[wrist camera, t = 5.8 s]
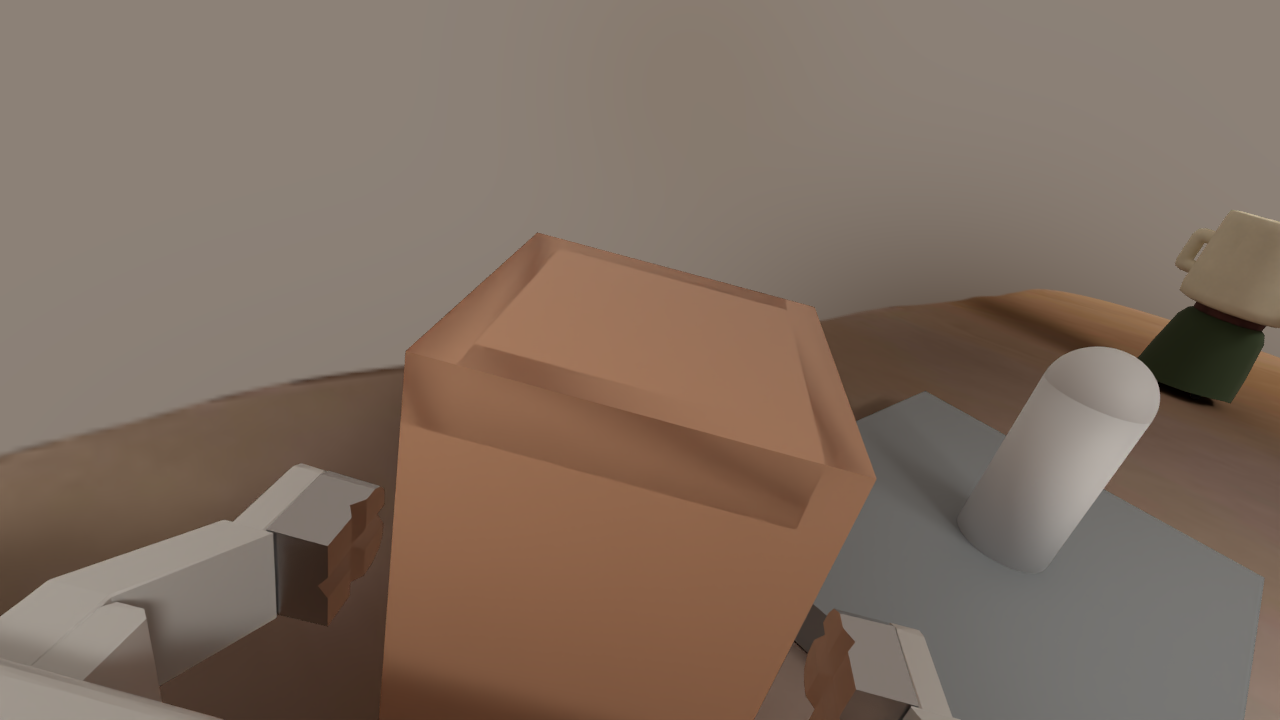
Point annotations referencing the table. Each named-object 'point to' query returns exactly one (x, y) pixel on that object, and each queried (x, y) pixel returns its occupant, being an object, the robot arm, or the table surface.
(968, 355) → the table surface
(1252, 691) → the table surface
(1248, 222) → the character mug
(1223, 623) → the base
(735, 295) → the tall lidded tan box
